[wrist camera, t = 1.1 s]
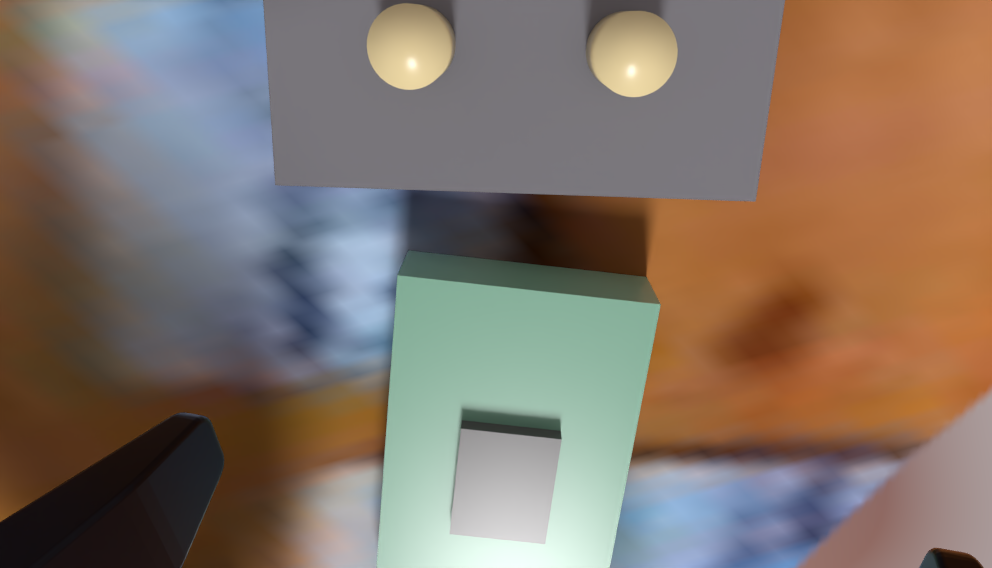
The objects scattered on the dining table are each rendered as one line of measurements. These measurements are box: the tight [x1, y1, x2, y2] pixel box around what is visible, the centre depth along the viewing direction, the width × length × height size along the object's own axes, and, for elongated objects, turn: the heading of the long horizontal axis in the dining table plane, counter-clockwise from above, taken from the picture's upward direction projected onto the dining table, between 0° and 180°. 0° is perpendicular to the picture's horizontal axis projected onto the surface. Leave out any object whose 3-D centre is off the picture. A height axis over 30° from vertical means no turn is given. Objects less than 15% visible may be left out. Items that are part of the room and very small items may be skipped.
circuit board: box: [376, 250, 661, 568], centre depth 20 cm, size 10×6×3 cm, turn 174°
